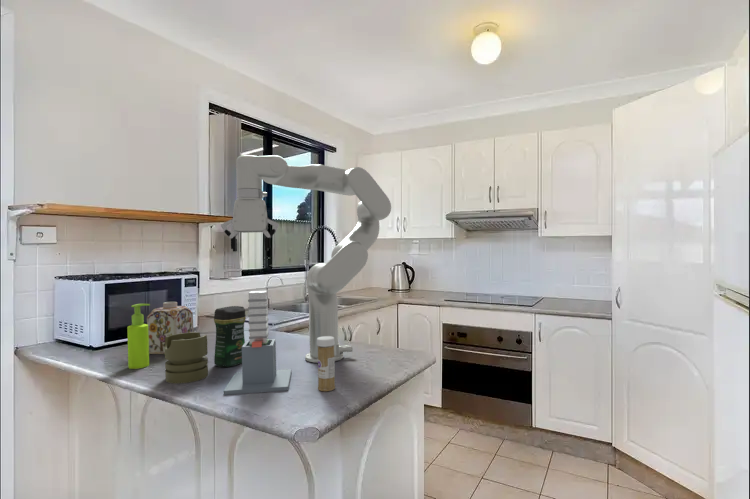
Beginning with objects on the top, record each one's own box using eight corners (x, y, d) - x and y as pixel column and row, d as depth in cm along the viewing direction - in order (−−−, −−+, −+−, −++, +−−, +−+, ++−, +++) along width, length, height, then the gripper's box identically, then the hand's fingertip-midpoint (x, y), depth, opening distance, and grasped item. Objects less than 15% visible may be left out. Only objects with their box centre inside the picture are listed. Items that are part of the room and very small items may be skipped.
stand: (291, 372, 125) (290, 331, 125) (287, 390, 109) (286, 343, 109) (235, 375, 123) (234, 334, 122) (223, 394, 107) (222, 346, 107)
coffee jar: (226, 369, 130) (225, 309, 130) (210, 366, 134) (208, 307, 134) (251, 361, 138) (249, 305, 138) (235, 358, 142) (233, 304, 142)
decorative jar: (166, 346, 163) (165, 300, 163) (195, 347, 161) (193, 300, 161) (146, 354, 151) (144, 304, 151) (176, 355, 149) (174, 304, 149)
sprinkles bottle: (314, 389, 109) (313, 337, 109) (327, 385, 113) (325, 334, 112) (326, 393, 106) (325, 340, 106) (339, 388, 110) (338, 336, 110)
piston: (171, 342, 115) (159, 336, 123) (172, 386, 115) (160, 377, 123) (213, 335, 122) (198, 330, 130) (214, 377, 122) (199, 369, 131)
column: (269, 354, 118) (267, 290, 118) (267, 358, 114) (265, 292, 114) (252, 355, 118) (250, 291, 118) (249, 359, 113) (247, 293, 113)
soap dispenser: (156, 364, 138) (154, 303, 138) (136, 369, 131) (134, 305, 131) (144, 362, 140) (142, 302, 140) (124, 367, 134) (122, 305, 134)
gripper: (279, 197, 136) (280, 250, 136) (223, 197, 133) (224, 251, 133) (277, 194, 128) (278, 250, 128) (217, 194, 126) (219, 251, 126)
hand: (251, 251), depth 131 cm, fingers open, 9 cm apart
